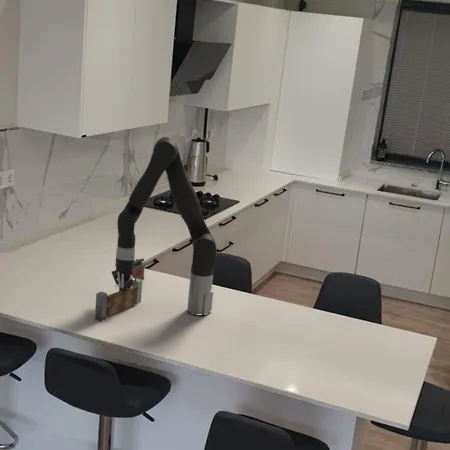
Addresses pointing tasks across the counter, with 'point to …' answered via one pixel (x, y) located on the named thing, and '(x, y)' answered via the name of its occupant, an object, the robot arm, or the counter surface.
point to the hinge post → (101, 306)
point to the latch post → (139, 284)
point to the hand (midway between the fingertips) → (122, 295)
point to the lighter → (138, 269)
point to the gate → (121, 300)
